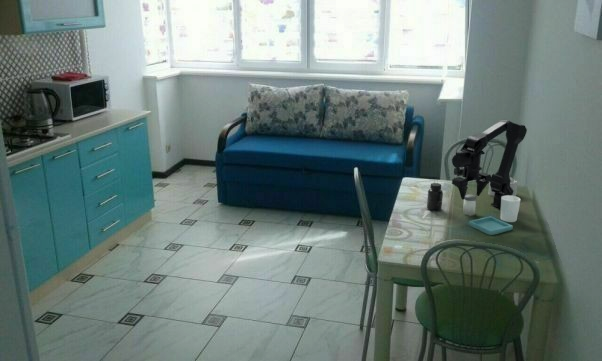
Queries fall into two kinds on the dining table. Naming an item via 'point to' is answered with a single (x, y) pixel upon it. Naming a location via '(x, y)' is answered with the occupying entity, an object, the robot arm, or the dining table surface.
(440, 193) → the supplement bottle
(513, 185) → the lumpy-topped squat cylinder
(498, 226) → the tray
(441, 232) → the dining table surface
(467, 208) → the spice jar
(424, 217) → the butter knife
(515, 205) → the white cup
